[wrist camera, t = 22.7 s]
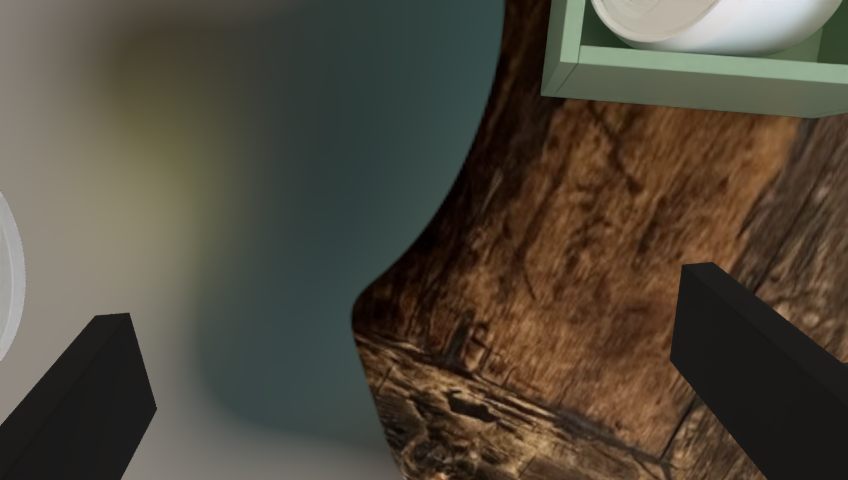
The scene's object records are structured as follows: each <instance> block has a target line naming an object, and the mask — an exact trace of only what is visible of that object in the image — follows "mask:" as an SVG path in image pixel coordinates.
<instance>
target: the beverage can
mask: <svg viewBox="0 0 848 480" xmlns="http://www.w3.org/2000/svg"><path fill="white" fill-rule="evenodd" d="M591 2H592V5H593V7H594V9H595V11H596V13H597V14H598V16H599V18H600V19H601V20H602V22H603V23H604V24H605V25H606V26H607V27H608V28H609V29H610V30H611V31H612V32H613V33H614V34H615V35H616V36H617V37H618V38H619V39H620V40H622V41H623V42H624V43H626V44H627V45H629V46H631V47H633V48H635V49H638V50H652V51H665V52H679V53H693V54H706V55H720V56H765V55H771V54H775V53H778V52H781V51H784V50H787V49H789V48H791V47H793V46H795V45H797V44H799V43H801V42H802V41H804V40H805V39H807V38H808V37H810V36H811V35H812V34H814V33H815V32H816V31H817V30H819V29H820V28H821V27H822V26H823V25H824V24H825V23H826V22H827V21H828V20H829V18H830V17H831V16H832V15H833V14H834V12H835V11H836V10H837V8H838V7H839V5H840V4H841V2H842V0H591Z"/></svg>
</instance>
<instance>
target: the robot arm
mask: <svg viewBox="0 0 848 480" xmlns="http://www.w3.org/2000/svg"><path fill="white" fill-rule="evenodd" d="M670 361H671V362H672V363H673V365H674V366H675V367H676V368H677V370H678V371H679V372H680V373H681V374H682V376H683V377H684V378H685V379H686V381H687V382H688V383H689V384H690V385H691V387H692V388H693V389H694V390H695V392H696V393H697V394H698V395H699V396H700V398H701V399H702V400H703V401H704V403H705V404H706V405H707V406H708V407H709V409H710V410H711V411H712V412H713V414H714V415H715V416H716V417H717V418H718V420H719V421H720V422H721V423H722V425H723V426H724V427H725V428H726V429H727V431H728V432H729V433H730V434H731V435H732V437H733V438H734V439H735V440H736V442H737V443H738V444H739V445H740V446H741V448H742V449H743V450H744V451H745V453H746V454H747V455H748V456H749V457H750V459H751V460H752V461H753V462H754V464H755V465H756V466H757V467H758V468H759V470H760V471H761V472H762V473H763V475H764V476H765V477H766V478H767V479H768V480H848V363H841V362H840V361H839V360H837V359H836V358H835V357H834V356H832V355H831V354H830V353H828V352H827V351H826V350H825V349H823V348H822V347H821V346H819V345H818V344H817V343H816V342H814V341H813V340H812V339H811V338H809V337H808V336H807V335H805V334H804V333H803V332H802V331H800V330H799V329H798V328H796V327H795V326H794V325H793V324H791V323H790V322H789V321H787V320H786V319H785V318H784V317H782V316H781V315H780V314H779V313H777V312H776V311H775V310H773V309H772V308H771V307H770V306H768V305H767V304H766V303H764V302H763V301H762V300H761V299H759V298H758V297H757V296H755V295H754V294H753V293H752V292H750V291H749V290H748V289H747V288H745V287H744V286H743V285H741V284H740V283H739V282H738V281H736V280H735V279H734V278H732V277H731V276H730V275H729V274H727V273H726V272H725V271H723V270H722V269H721V268H720V267H718V266H717V265H716V264H715V263H713V262H708V263H697V264H685V265H682V270H681V278H680V285H679V293H678V301H677V308H676V316H675V324H674V331H673V339H672V346H671V354H670ZM156 410H157V407H156V404H155V401H154V397H153V393H152V390H151V386H150V383H149V379H148V376H147V372H146V369H145V366H144V362H143V359H142V355H141V352H140V348H139V345H138V341H137V338H136V334H135V331H134V327H133V324H132V320H131V317H130V313H121V314H109V315H97V316H95V317H94V318H93V319H92V320H91V321H90V322H89V323H88V325H87V326H86V327H85V328H84V329H83V330H82V332H81V333H80V334H79V335H78V336H77V338H76V339H75V340H74V341H73V342H72V343H71V344H70V346H69V347H68V348H67V349H66V350H65V351H64V353H63V354H62V355H61V356H60V357H59V358H58V359H57V361H56V362H55V363H54V364H53V365H52V366H51V368H50V369H49V370H48V371H47V372H46V373H45V375H44V376H43V377H42V378H41V379H40V380H39V382H38V383H37V384H36V385H35V386H34V387H33V389H32V390H31V391H30V392H29V393H28V394H27V396H26V397H25V398H24V399H23V400H22V401H21V402H20V404H19V405H18V406H17V407H16V408H15V410H14V411H13V412H12V413H11V414H10V415H9V416H8V418H7V419H6V420H5V421H4V422H3V423H2V424H1V426H0V480H121V478H122V476H123V474H124V472H125V470H126V468H127V466H128V464H129V463H130V460H131V459H132V457H133V455H134V453H135V451H136V449H137V447H138V445H139V443H140V441H141V439H142V437H143V435H144V433H145V432H146V430H147V428H148V426H149V424H150V422H151V420H152V418H153V416H154V414H155V412H156Z"/></svg>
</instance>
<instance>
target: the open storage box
mask: <svg viewBox="0 0 848 480" xmlns="http://www.w3.org/2000/svg"><path fill="white" fill-rule="evenodd" d="M540 95H541V96H551V97H563V98H575V99H587V100H599V101H611V102H623V103H635V104H647V105H659V106H671V107H683V108H695V109H707V110H719V111H731V112H743V113H755V114H767V115H779V116H791V117H803V118H818V117H825V116H831V115H837V114H842V113H848V0H842V2H841V4H840V5H839V7H838V8H837V10H836V11H835V12H834V14H833V15H832V16H831V17H830V18H829V20H828V21H827V22H826V23H825V24H824V25H823V26H822V27H821V28H820V29H819V30H817V31H816V32H815V33H814V34H812V35H811V36H810V37H808V38H807V39H805V40H804V41H802V42H801V43H799V44H797V45H795V46H793V47H791V48H789V49H787V50H784V51H781V52H778V53H775V54H771V55H765V56H720V55H706V54H693V53H679V52H665V51H652V50H638V49H635V48H633V47H631V46H629V45H627V44H626V43H624V42H623V41H622V40H620V39H619V38H618V37H617V36H616V35H615V34H614V33H613V32H612V31H611V30H610V29H609V28H608V27H607V26H606V25H605V24H604V23H603V22H602V20H601V19H600V18H599V16H598V14H597V13H596V11H595V9H594V7H593V5H592V2H591V0H552V3H551V11H550V19H549V28H548V36H547V44H546V53H545V61H544V69H543V77H542V86H541V94H540Z"/></svg>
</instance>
